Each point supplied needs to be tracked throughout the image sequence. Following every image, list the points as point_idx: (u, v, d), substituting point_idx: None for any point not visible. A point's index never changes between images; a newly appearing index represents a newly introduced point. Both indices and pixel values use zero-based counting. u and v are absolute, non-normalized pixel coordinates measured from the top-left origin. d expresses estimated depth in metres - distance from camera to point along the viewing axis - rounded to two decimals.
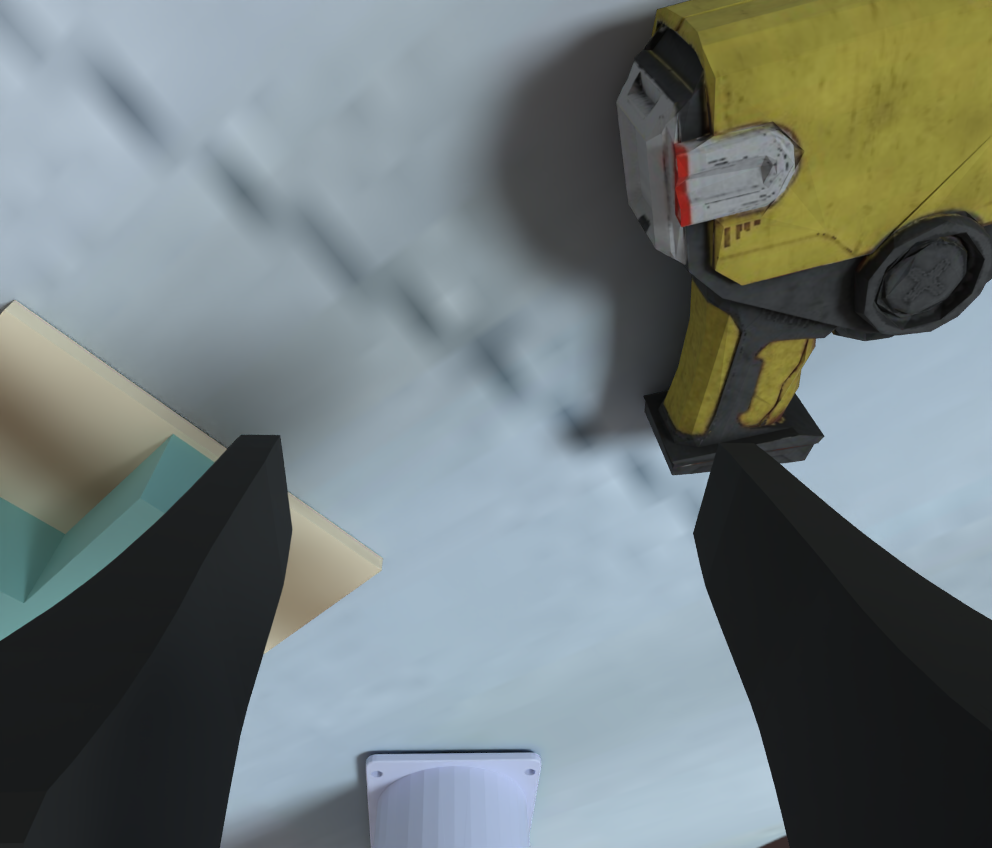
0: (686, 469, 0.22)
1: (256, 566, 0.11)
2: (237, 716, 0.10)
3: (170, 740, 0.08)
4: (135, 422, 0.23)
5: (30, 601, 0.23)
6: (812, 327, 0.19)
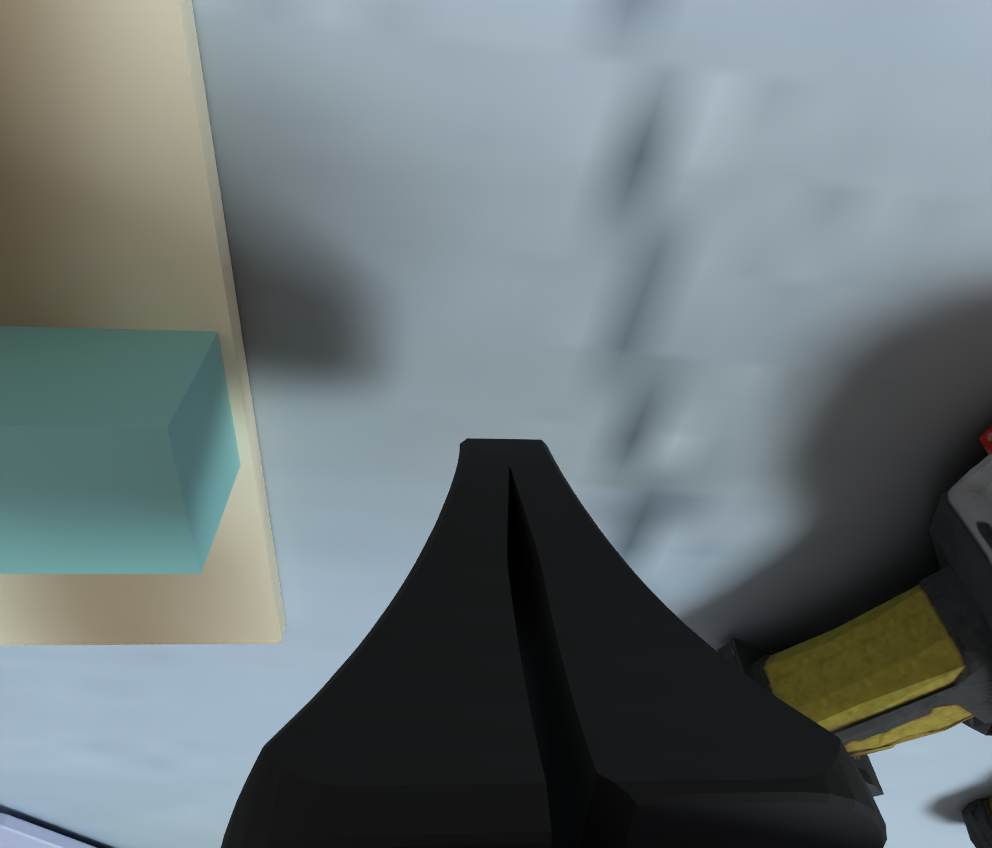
0: None
1: None
2: None
3: None
4: (182, 278, 0.13)
5: None
6: None
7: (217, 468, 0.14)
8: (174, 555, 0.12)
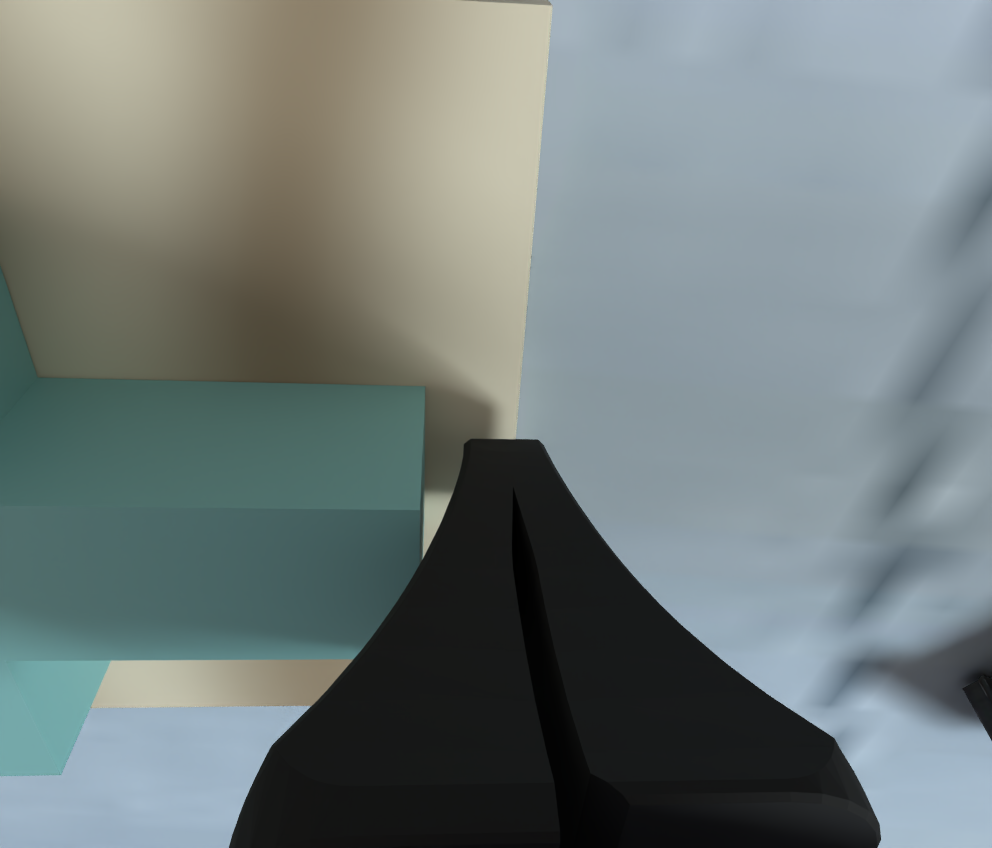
0: None
1: None
2: None
3: None
4: (480, 332, 0.12)
5: None
6: None
7: (422, 537, 0.12)
8: None
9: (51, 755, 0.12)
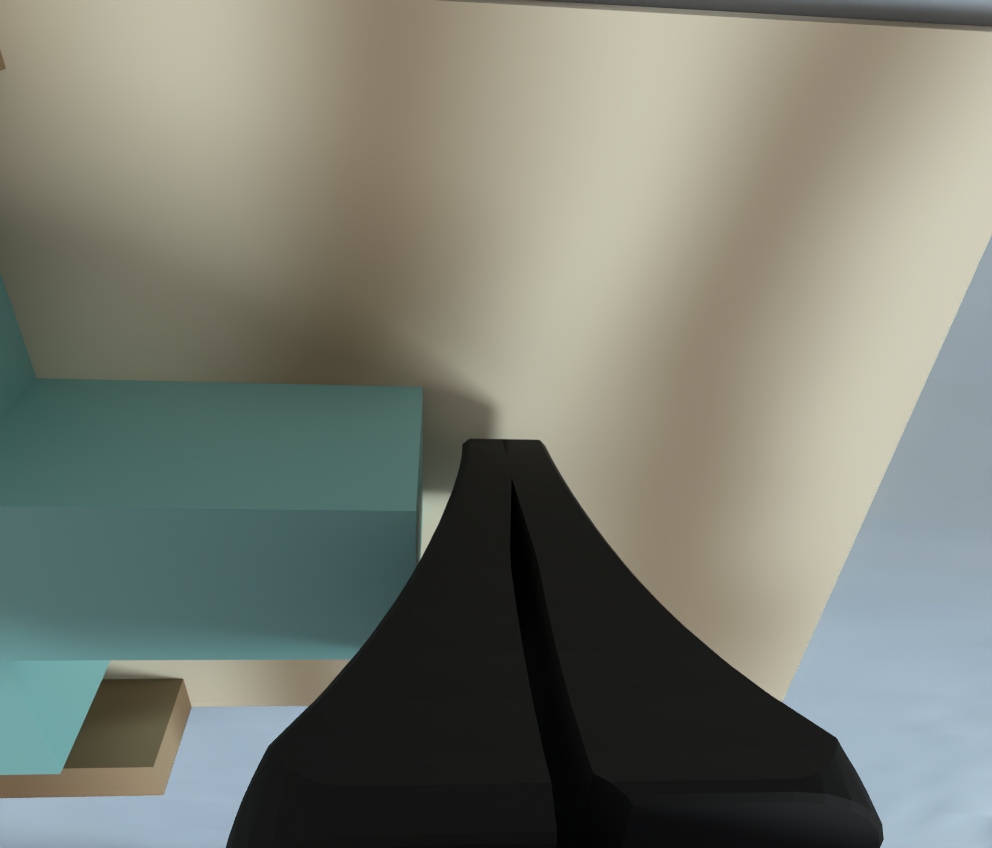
0: None
1: None
2: None
3: None
4: (902, 343, 0.12)
5: None
6: None
7: None
8: None
9: (50, 754, 0.12)
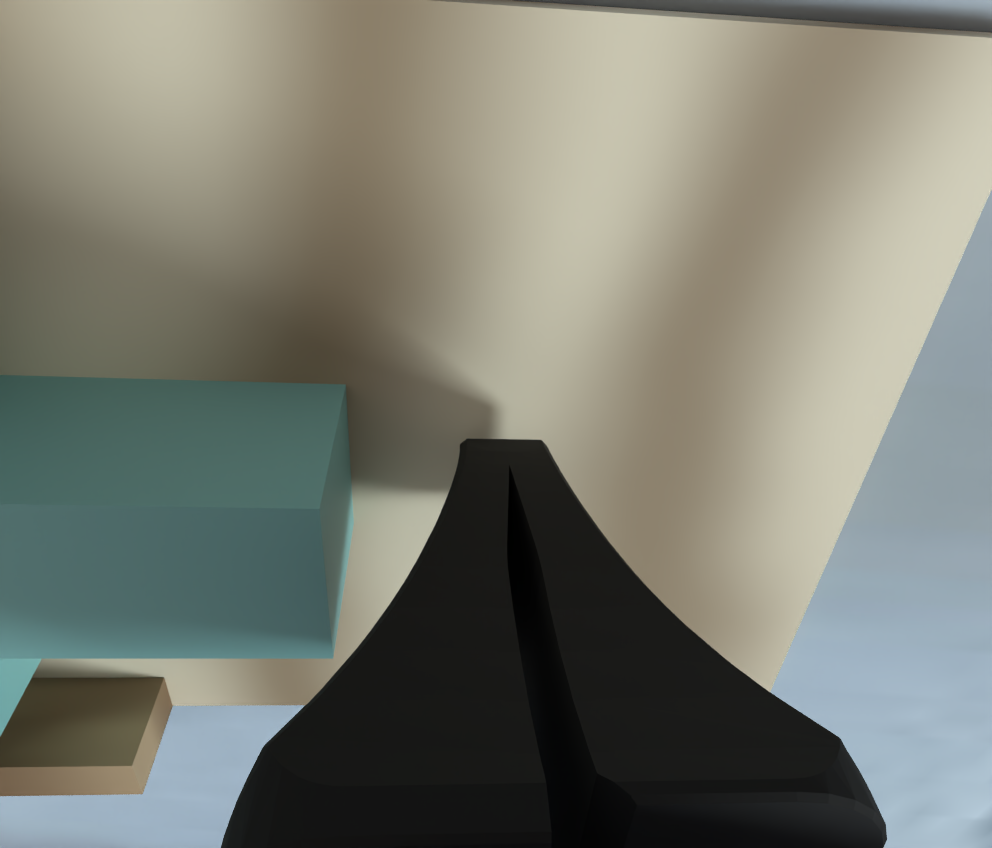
0: None
1: None
2: None
3: None
4: (881, 346, 0.12)
5: None
6: None
7: (342, 535, 0.12)
8: (306, 640, 0.11)
9: None
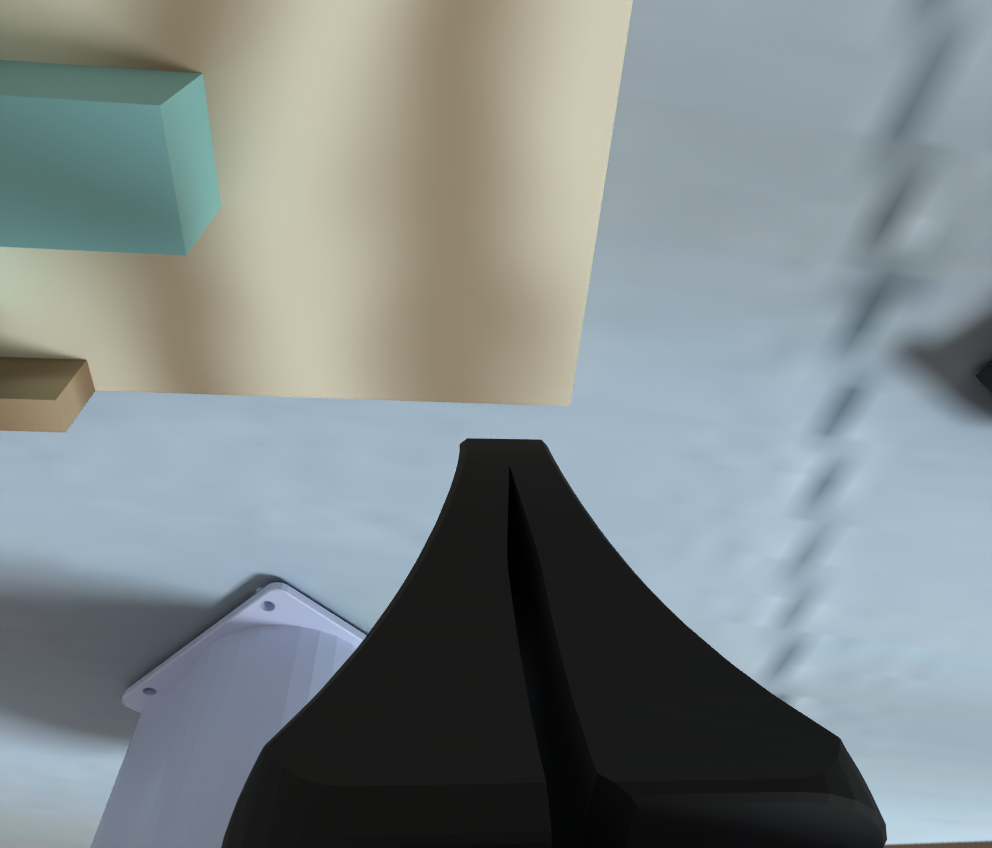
0: None
1: None
2: None
3: None
4: (594, 50, 0.17)
5: None
6: None
7: (200, 185, 0.17)
8: (164, 235, 0.16)
9: None
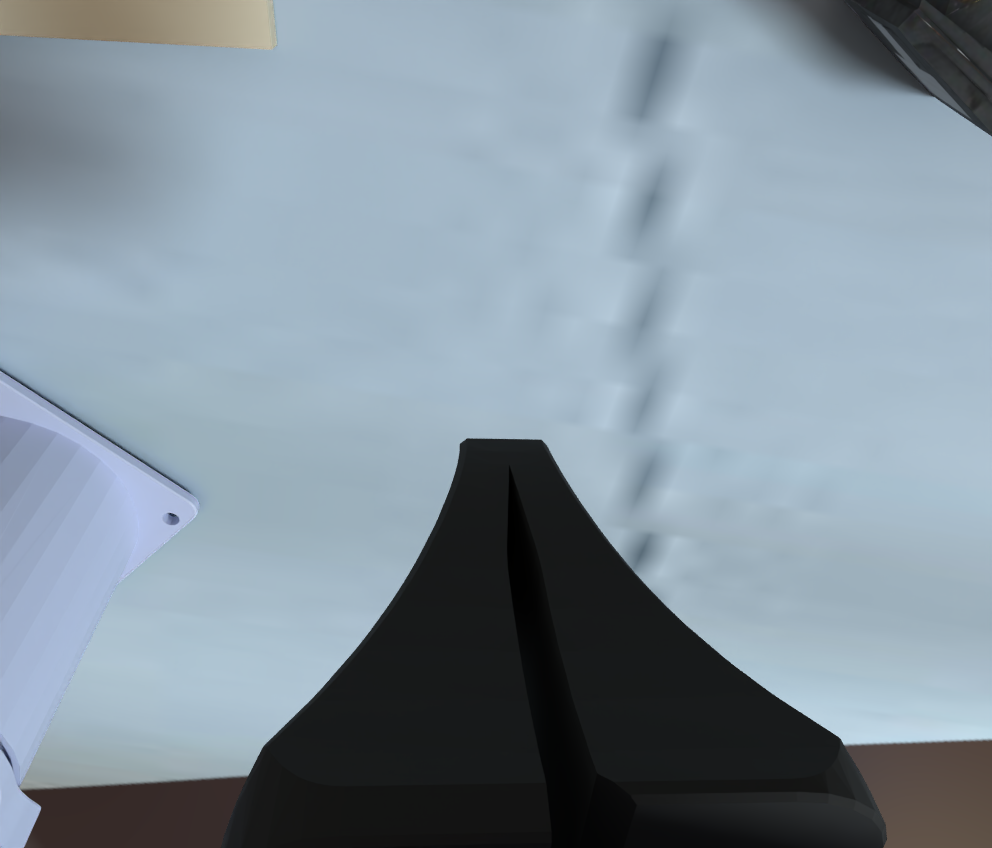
0: (919, 31, 0.15)
1: None
2: None
3: None
4: None
5: None
6: None
7: None
8: None
9: None
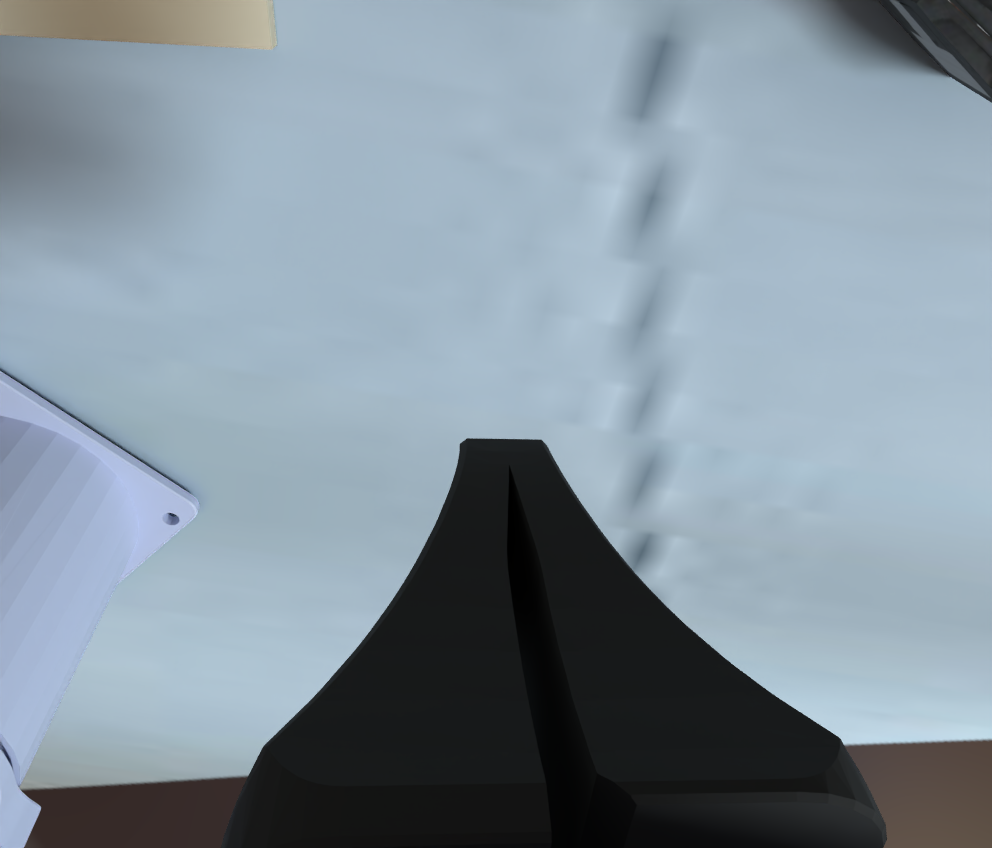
0: (939, 6, 0.14)
1: None
2: None
3: None
4: None
5: None
6: None
7: None
8: None
9: None
